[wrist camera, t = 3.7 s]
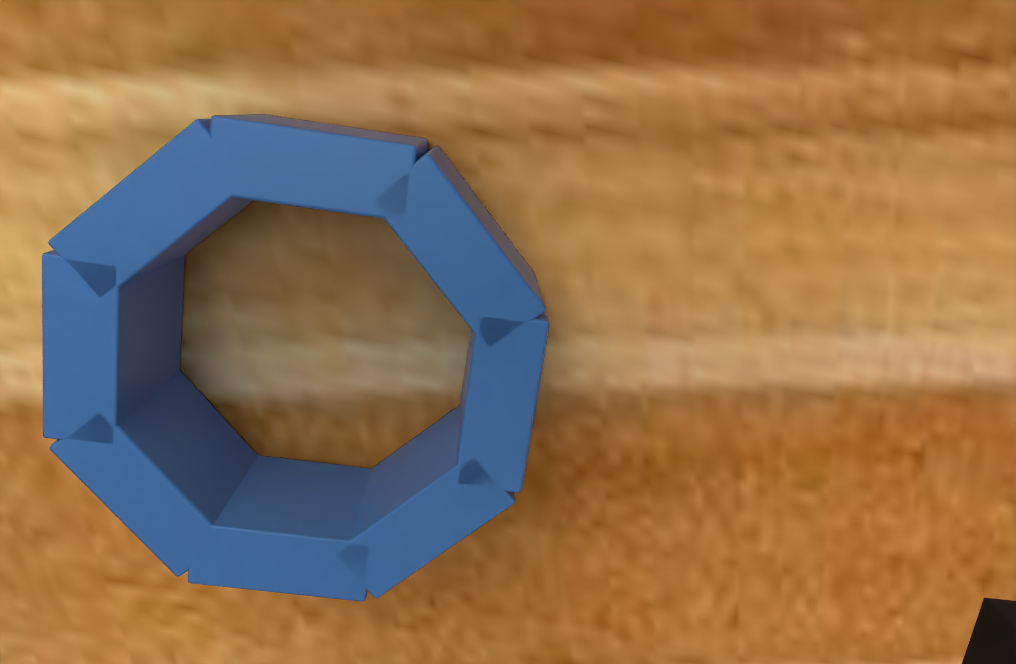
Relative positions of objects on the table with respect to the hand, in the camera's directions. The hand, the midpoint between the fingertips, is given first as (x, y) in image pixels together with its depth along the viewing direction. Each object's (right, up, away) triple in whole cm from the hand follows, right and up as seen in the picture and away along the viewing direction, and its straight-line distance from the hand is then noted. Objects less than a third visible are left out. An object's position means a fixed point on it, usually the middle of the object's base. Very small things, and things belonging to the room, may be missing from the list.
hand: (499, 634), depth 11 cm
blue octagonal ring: (-5, +4, +11) cm, 13 cm away
